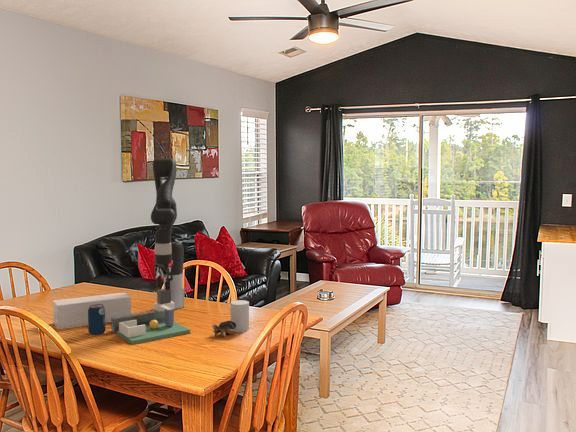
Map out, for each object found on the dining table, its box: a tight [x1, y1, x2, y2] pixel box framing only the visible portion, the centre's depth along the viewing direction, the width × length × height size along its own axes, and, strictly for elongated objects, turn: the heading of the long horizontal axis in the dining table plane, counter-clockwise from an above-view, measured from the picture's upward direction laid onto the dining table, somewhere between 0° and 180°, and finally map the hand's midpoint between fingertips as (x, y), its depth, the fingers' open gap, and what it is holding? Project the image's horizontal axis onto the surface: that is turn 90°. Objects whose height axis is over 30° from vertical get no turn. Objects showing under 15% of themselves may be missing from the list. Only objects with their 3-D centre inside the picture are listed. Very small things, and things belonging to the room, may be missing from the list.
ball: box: [149, 320, 159, 329], centre depth 236 cm, size 4×4×4 cm
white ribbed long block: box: [52, 291, 132, 330], centre depth 253 cm, size 32×11×11 cm, turn 122°
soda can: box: [87, 304, 107, 337], centre depth 234 cm, size 7×7×12 cm
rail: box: [110, 309, 175, 334], centre depth 245 cm, size 28×3×6 cm, turn 128°
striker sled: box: [153, 288, 176, 326], centre depth 247 cm, size 8×16×13 cm, turn 38°
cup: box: [229, 299, 250, 333], centre depth 242 cm, size 8×8×12 cm
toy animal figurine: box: [212, 320, 236, 338], centre depth 233 cm, size 8×7×9 cm
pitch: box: [116, 320, 191, 346], centre depth 234 cm, size 26×16×2 cm, turn 128°
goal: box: [119, 320, 146, 338], centre depth 230 cm, size 8×10×4 cm
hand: (163, 288), depth 250 cm, fingers open, 8 cm apart
